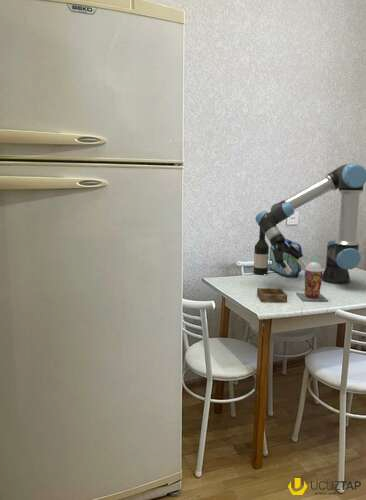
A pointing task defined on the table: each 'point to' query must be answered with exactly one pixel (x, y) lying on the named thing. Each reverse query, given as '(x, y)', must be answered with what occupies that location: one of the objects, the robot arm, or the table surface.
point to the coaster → (304, 298)
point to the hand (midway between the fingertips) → (298, 271)
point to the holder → (271, 295)
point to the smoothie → (313, 279)
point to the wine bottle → (261, 255)
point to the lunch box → (287, 261)
